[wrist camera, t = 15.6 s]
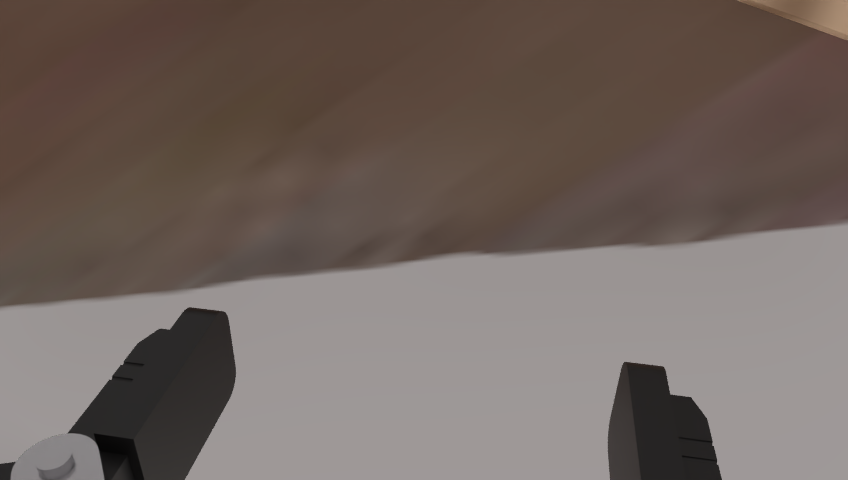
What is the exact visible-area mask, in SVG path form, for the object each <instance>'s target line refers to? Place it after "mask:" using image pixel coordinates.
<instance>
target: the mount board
mask: <svg viewBox="0 0 848 480" xmlns="http://www.w3.org/2000/svg"><path fill="white" fill-rule="evenodd" d="M737 1H740V2H743V3H745V4H748V5H751V6H754V7H756V8H759V9H762V10H765V11H768V12H770V13H773V14H776V15H779V16H781V17H784V18H787V19H790V20H792V21H795V22H798V23H801V24H803V25H806V26H809V27H812V28H814V29H817V30H820V31H823V32H825V33H828V34H831V35H834V36H836V37H839V38H842V39H845V40H847V41H848V0H737Z"/></svg>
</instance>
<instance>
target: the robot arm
mask: <svg viewBox="0 0 848 480" xmlns="http://www.w3.org/2000/svg"><path fill="white" fill-rule="evenodd" d="M235 377H236V367H235V360H234V354H233V346H232V339H231V334H230V326H229V320H228V316H227V314H226V313H225V312H223V311H215V310H207V309H199V308H187V309H186V310H185V311H184V312H183V313H182V314H181V316H180V317H179V318H178V320H177V321H176V322H175V324H174V325H173V326H172V328H171V329H170V330H167V329H159V330H157V331H156V332H154V333H153V334H151V335H150V336H148V337H147V338H145V339H144V340H142V341H141V342H139V343H138V344H137V345H136V346H135V348H134V349H133V350H132V352H131V353H130V354H129V356H128V357H127V358H126V359H125V361H124V364H123V365H121V366H120V367H119V368H118V369H117V371H116V372H115V373H114V375H113V376H112V380H109V381H108V382H107V384H106V385H105V386H104V387H103V389H102V390H101V391H100V393H99V394H98V395H97V397H96V398H95V399H94V400H93V402H92V403H91V404H90V406H89V407H88V408H87V409H86V410H85V412H84V413H83V414H82V416H81V417H80V418H79V419H78V421H77V422H76V424H75V425H74V426H73V427H72V428H71V430H70V431H69V432H68V433H67V434H61V435H56V436H52V437H50V438H47V439H44V440H42V441H40V442H38V443H36V444H35V445H33V446H32V447H30V448H29V449H28V450H26V451H25V452H24V453H23V454H22V455H21V456H20V457H19V459H18V460H17V461H16V462H12V463H5V464H0V480H185V478H186V476H187V475H188V473H189V471H190V469H191V467H192V465H193V464H194V462H195V460H196V458H197V456H198V455H199V453H200V451H201V449H202V447H203V446H204V444H205V442H206V440H207V438H208V437H209V435H210V433H211V431H212V429H213V428H214V426H215V424H216V422H217V420H218V418H219V417H220V415H221V413H222V411H223V410H224V408H225V406H226V404H227V402H228V401H229V399H230V397H231V394H232V391H233V388H234V383H235ZM608 459H609V472H610V480H722V478H721V474H720V470H719V466H718V465H717V458H716V454H715V450H714V446H712V437H711V433H710V429H709V425H708V421H707V418H706V417H705V416H704V414H703V413H702V411H701V410H700V409H699V407H698V406H697V405H696V404H695V402H694V401H693V400H692V398H691V397H685V396H677V395H670V391H669V386H668V381H667V376H666V371H665V369H664V367H662V366H654V365H646V364H638V363H630V362H624V363H623V365H622V368H621V373H620V377H619V381H618V386H617V390H616V395H615V399H614V404H613V408H612V413H611V417H610V423H609V431H608Z"/></svg>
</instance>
